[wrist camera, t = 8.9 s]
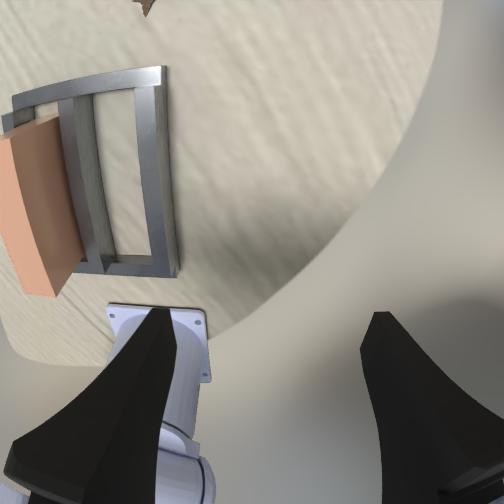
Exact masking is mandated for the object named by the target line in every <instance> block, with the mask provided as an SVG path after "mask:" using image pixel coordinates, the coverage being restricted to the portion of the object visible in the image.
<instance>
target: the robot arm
mask: <svg viewBox="0 0 504 504" xmlns="http://www.w3.org/2000/svg"><path fill="white" fill-rule="evenodd" d="M105 310H106V313H107V316H108V319H109V322H110V324H111V327H112V330H113V332H114V335H115V337H116V340H115V342H114V345H113V348H112V350H111V353H110V356H109V358H108V361H107V364H106V367H105V369H104V370H103V371H102V372H101V373H100V374H99V375H98V377H97V378H96V379H95V380H94V381H93V382H92V383H91V384H90V385H89V386H88V387H87V388H86V389H85V390H84V391H83V392H81V393H80V394H79V395H78V396H77V397H76V398H75V399H74V400H72V401H71V402H70V403H69V404H68V405H67V406H65V407H64V408H63V409H62V410H60V411H59V412H58V413H56V414H55V415H54V416H52V417H51V418H50V419H48V420H47V421H45V422H44V423H43V424H41V425H40V426H38V427H37V428H35V429H33V430H32V431H30V432H29V433H27V434H25V435H24V436H22V437H20V438H19V439H17V440H15V441H13V444H12V446H11V449H10V451H9V455H8V458H7V461H6V464H5V468H4V471H3V472H4V474H5V476H7V477H8V478H9V479H11V480H13V481H14V482H16V483H18V484H19V485H21V486H23V487H25V488H27V489H28V490H30V491H31V495H30V497H29V496H27V495H25V494H23V493H21V492H19V491H17V490H15V489H13V488H11V487H9V486H7V485H5V484H4V483H2V482H0V504H214V502H215V497H216V482H215V477H214V474H213V472H212V469H211V466H210V464H209V463H208V461H207V460H206V459H205V458H203V457H201V456H199V450H200V444H199V443H197V442H195V441H192V438H193V435H194V430H195V422H196V413H197V405H198V397H199V388H200V383H209V382H210V381H211V370H210V362H209V353H208V343H207V333H206V323H205V314H204V313H203V312H202V311H200V310H191V309H173V308H157V307H143V306H130V305H118V304H108V305H107V306H106V308H105ZM113 314H114V315H113ZM197 320H199V321H197ZM360 353H361V360H362V366H363V372H364V377H365V380H366V384H367V388H368V392H369V395H370V399H371V403H372V406H373V410H374V414H375V418H376V422H377V427H378V432H379V441H380V449H381V462H382V504H504V483H503V480H502V479H503V478H504V419H502V418H500V417H499V416H497V415H496V414H494V413H493V412H491V411H490V410H488V409H487V408H485V407H484V406H482V405H481V404H480V403H478V402H477V401H476V400H475V399H473V398H472V397H471V396H469V395H468V394H467V393H466V392H465V391H463V390H462V389H461V388H460V387H459V386H458V385H457V384H456V383H454V382H453V381H452V380H451V379H450V378H449V377H448V376H447V375H446V374H445V373H444V372H443V371H442V370H441V369H440V368H439V367H438V366H437V365H436V364H435V363H434V362H433V361H432V360H431V358H430V357H429V356H428V355H427V354H426V353H425V352H424V351H423V350H422V348H421V347H420V346H419V345H418V344H417V343H416V342H415V340H414V339H413V338H412V337H411V336H410V335H409V333H408V332H407V331H406V330H405V329H404V328H403V326H402V325H401V324H400V323H399V322H398V321H397V320H396V318H395V317H394V316H393V315H392V314H391V313H390V312H374V315H373V317H372V320H371V322H370V325H369V327H368V330H367V332H366V335H365V337H364V340H363V342H362V344H361V347H360Z"/></svg>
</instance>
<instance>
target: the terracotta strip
mask: <svg viewBox="0 0 504 504" xmlns="http://www.w3.org/2000/svg"><path fill="white" fill-rule="evenodd" d="M0 232H1V235H2V238H3V241H4V243H5V246H6V249H7V251H8V254H9V257H10V259H11V262H12V264H13V267H14V269H15V271H16V274H17V276H18V279H19V281H20V283H21V285H22V288H23V290H24V292H25V294H32V295H40V296H48V297H57V295H58V294H59V292H60V291H61V289H62V287H63V286H64V284H65V283H66V281H67V280H68V278H69V277H70V275H71V274H72V272H73V271H74V269H75V268H76V266H77V265H78V263H79V262H80V260H81V259H82V257H83V256H84V255H85V253H86V252H85V248H84V245H83V241H82V237H81V233H80V230H79V226H78V221H77V217H76V213H75V209H74V204H73V200H72V195H71V190H70V185H69V180H68V175H67V169H66V163H65V157H64V151H63V144H62V137H61V130H60V122H59V113H58V114H53V115H48V116H43V117H40V118H37V119H35V120H32V121H30V122H28V123H25V124H23V125H21V126H19V127H16V128H14V129H12V130H10V131H8V132H6V133H4V134H2V135H0Z"/></svg>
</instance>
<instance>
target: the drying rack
mask: <svg viewBox="0 0 504 504" xmlns="http://www.w3.org/2000/svg"><path fill="white" fill-rule="evenodd" d="M141 86H142V87H141ZM132 87H138V88H134V96H135V115H136V130H137V142H138V154H139V164H140V174H141V183H142V191H143V199H144V207H145V214H146V221H147V228H148V235H149V241H150V247H151V253H152V256H135V255H116V252H115V248H114V243H113V239H112V234H111V229H110V224H109V219H108V214H107V209H106V204H105V198H104V192H103V186H102V180H101V174H100V167H99V160H98V153H97V145H96V136H95V127H94V116H93V104H92V93H96V92H102V91H109V90H116V89H124V88H132ZM64 98H65V99H64ZM59 99H62V100H59ZM54 100H59V101H57V102H58V112H59V122H60V130H61V137H62V144H63V151H64V157H65V163H66V169H67V175H68V180H69V185H70V190H71V195H72V200H73V204H74V209H75V213H76V217H77V221H78V226H79V230H80V233H81V237H82V241H83V245H84V248H85V252H86V254H85V255H84V256H83V257H82V259H81V260H80V262H79V263H78V265H77V266H76V268H75V269H74V271H73V272H72V273H87V274H103V275H120V276H138V277H158V278H177V276H178V273H179V270H180V268H179V260H178V251H177V242H176V233H175V223H174V213H173V202H172V190H171V177H170V162H169V146H168V126H167V97H166V66H154V67H145V68H137V69H129V70H122V71H115V72H109V73H103V74H97V75H92V76H87V77H82V78H77V79H73V80H68V81H64V82H60V83H55V84H51V85H48V86H44V87H40V88H37V89H33V90H30V91H26V92H23V93H20V94H16V95H13V96H12V104H13V111H12V112H10V113H7V114H4V115H2V124H3V131H4V133H6V132H8V131H10V130H12V129H14V128H16V127H19V126H21V125H23V124H25V123H28V122H30V121H32V120H35V116H34V107H33V106H34V105H38V104H42V103H46V102H50V101H54Z"/></svg>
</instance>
